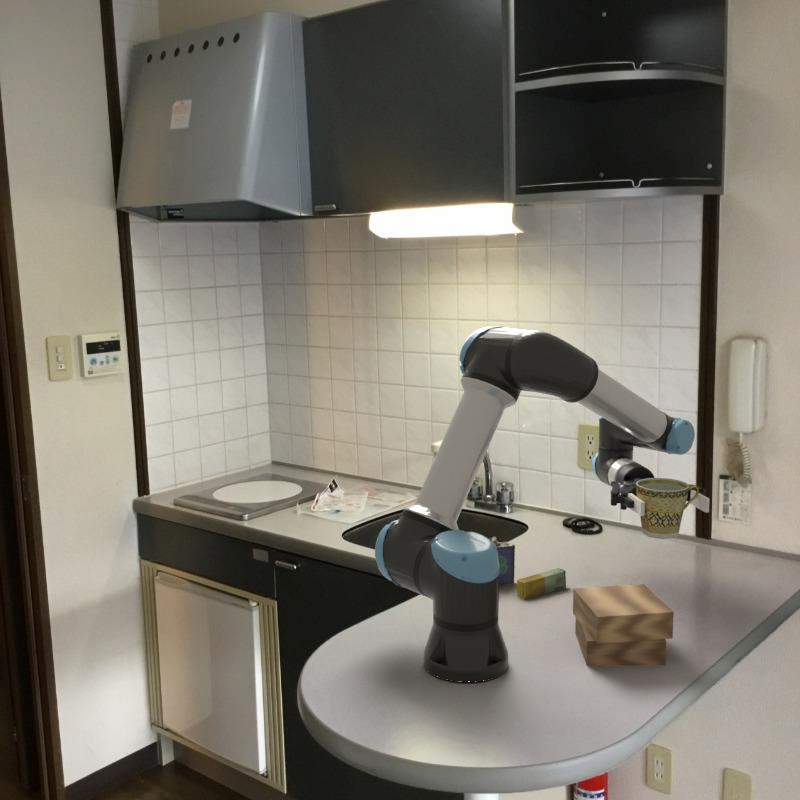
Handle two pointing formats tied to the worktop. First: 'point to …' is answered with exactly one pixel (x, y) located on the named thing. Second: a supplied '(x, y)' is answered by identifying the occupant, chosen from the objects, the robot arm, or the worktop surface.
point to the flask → (505, 561)
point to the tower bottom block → (620, 650)
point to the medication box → (541, 583)
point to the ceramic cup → (663, 505)
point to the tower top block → (622, 613)
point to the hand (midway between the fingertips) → (675, 507)
